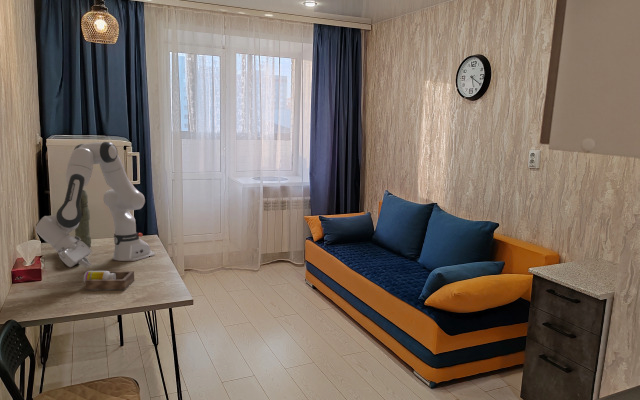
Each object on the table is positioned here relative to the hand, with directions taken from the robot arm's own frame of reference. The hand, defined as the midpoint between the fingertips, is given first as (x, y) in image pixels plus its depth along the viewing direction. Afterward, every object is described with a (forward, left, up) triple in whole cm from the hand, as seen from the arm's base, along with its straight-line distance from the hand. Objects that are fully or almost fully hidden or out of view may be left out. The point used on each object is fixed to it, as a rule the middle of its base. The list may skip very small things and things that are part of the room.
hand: (89, 266), depth 223 cm
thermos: (-28, -71, -10) cm, 77 cm away
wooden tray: (-6, +6, -9) cm, 13 cm away
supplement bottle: (+2, -1, -5) cm, 6 cm away
